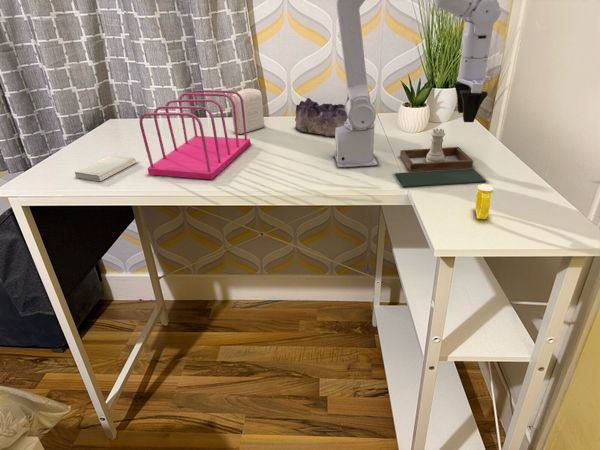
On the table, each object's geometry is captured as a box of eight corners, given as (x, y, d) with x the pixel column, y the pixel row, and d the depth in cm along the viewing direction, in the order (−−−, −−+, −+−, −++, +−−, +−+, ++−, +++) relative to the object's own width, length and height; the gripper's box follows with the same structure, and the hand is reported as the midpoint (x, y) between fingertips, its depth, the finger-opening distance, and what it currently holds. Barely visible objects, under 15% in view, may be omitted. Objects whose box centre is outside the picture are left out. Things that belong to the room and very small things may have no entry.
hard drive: (99, 175, 103) (134, 157, 113) (74, 171, 106) (111, 154, 116) (100, 182, 104) (136, 163, 114) (76, 178, 107) (112, 159, 117)
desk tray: (410, 171, 100) (410, 164, 99) (400, 156, 109) (400, 150, 108) (472, 167, 101) (473, 160, 100) (457, 153, 109) (458, 146, 108)
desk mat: (403, 187, 93) (403, 185, 93) (395, 174, 99) (395, 173, 99) (485, 182, 93) (485, 180, 93) (472, 169, 100) (473, 168, 99)
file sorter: (148, 175, 106) (132, 111, 98) (196, 141, 127) (186, 87, 119) (212, 180, 101) (201, 114, 94) (251, 144, 122) (245, 87, 114)
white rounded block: (258, 124, 139) (254, 85, 132) (266, 127, 136) (263, 87, 130) (232, 132, 132) (227, 91, 126) (240, 135, 130) (235, 93, 124)
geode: (285, 134, 128) (284, 100, 125) (302, 128, 138) (302, 96, 134) (350, 139, 120) (350, 101, 116) (363, 132, 129) (364, 97, 126)
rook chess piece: (445, 166, 102) (449, 133, 98) (425, 165, 103) (429, 132, 99) (443, 159, 106) (447, 127, 102) (424, 158, 107) (428, 127, 103)
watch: (470, 207, 84) (475, 179, 81) (485, 208, 83) (491, 180, 80) (474, 223, 79) (479, 193, 76) (490, 224, 78) (496, 194, 75)
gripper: (501, 61, 89) (490, 126, 95) (486, 50, 101) (477, 108, 108) (465, 62, 90) (457, 126, 96) (455, 51, 102) (447, 108, 109)
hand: (465, 117), depth 102 cm, fingers open, 7 cm apart
